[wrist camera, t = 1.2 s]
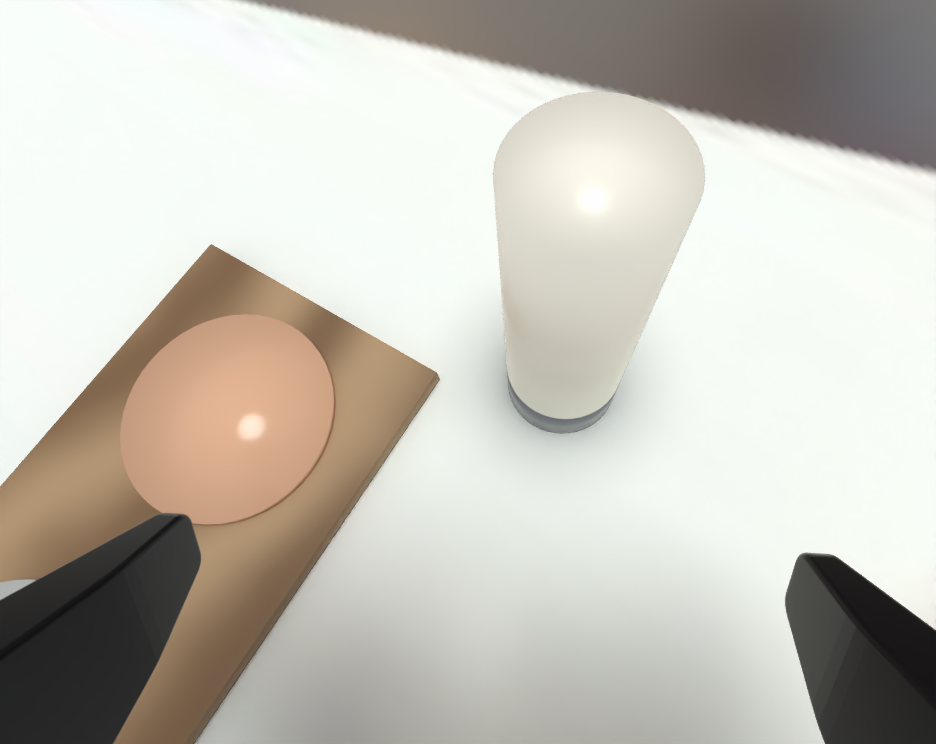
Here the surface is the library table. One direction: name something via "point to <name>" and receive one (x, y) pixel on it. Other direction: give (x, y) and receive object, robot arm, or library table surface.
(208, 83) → the library table surface
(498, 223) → the frosted light bulb
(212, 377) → the terracotta coaster
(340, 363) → the walnut board
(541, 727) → the library table surface
